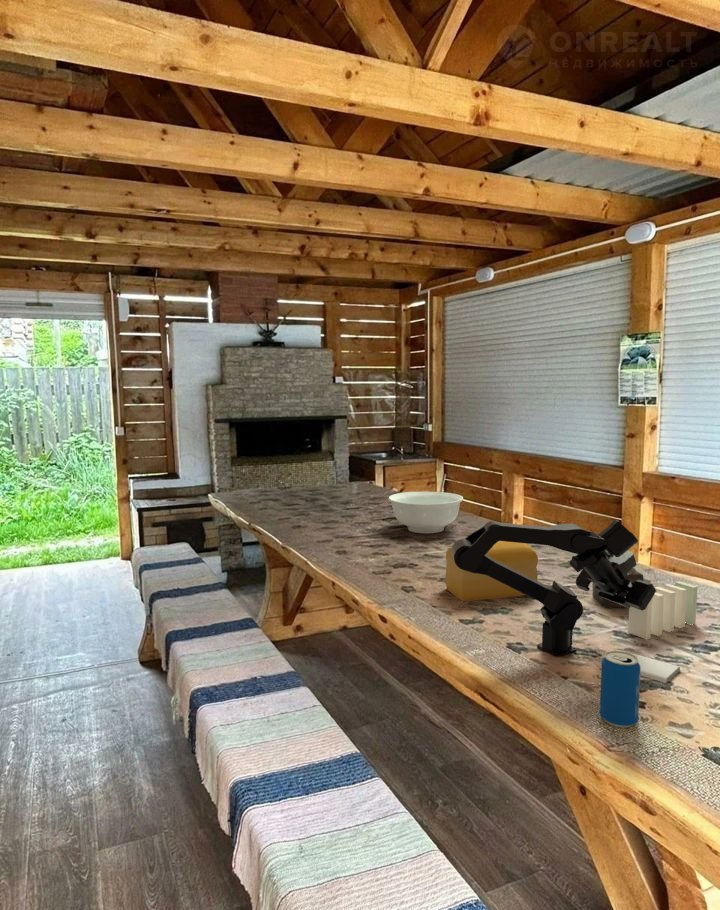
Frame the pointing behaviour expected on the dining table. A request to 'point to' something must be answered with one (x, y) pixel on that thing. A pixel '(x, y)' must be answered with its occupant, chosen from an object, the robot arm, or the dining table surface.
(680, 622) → the domino
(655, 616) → the domino
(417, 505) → the bowl
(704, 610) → the dining table surface
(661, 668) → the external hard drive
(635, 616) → the domino
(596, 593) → the dark brown boxy piece
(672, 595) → the domino
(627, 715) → the beverage can
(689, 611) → the domino
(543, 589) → the robot arm
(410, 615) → the dining table surface
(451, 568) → the bread
